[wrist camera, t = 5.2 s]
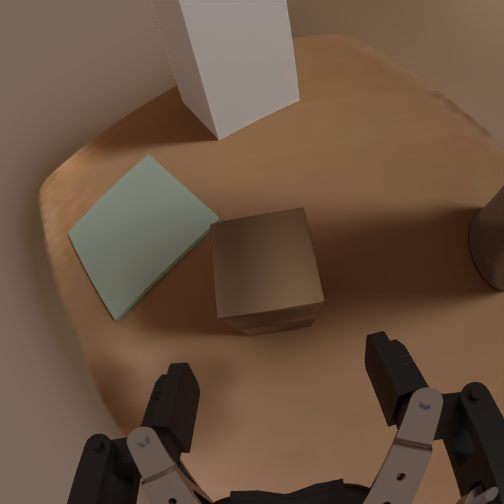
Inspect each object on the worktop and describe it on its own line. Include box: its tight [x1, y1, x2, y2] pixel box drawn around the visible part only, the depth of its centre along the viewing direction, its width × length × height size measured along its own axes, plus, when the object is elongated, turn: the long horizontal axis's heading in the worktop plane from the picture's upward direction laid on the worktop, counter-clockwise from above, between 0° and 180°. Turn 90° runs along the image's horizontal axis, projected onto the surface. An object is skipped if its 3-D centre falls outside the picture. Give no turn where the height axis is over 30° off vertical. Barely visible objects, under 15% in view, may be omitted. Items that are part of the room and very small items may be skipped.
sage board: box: [68, 155, 221, 322], centre depth 27 cm, size 14×14×1 cm
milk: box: [149, 0, 299, 140], centre depth 21 cm, size 12×12×26 cm
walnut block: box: [210, 207, 324, 336], centre depth 18 cm, size 5×5×10 cm
